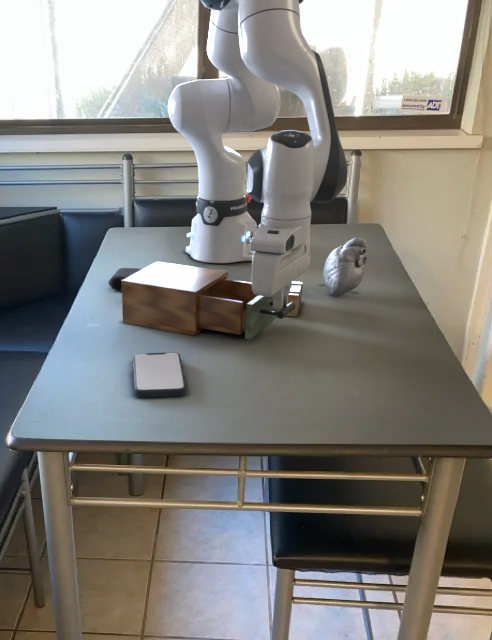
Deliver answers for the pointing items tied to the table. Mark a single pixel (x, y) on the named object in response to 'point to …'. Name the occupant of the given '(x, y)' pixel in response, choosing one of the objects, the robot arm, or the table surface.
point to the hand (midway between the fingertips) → (280, 306)
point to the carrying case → (121, 277)
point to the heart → (345, 267)
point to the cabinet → (166, 296)
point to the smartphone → (158, 375)
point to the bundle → (295, 297)
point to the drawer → (236, 308)
